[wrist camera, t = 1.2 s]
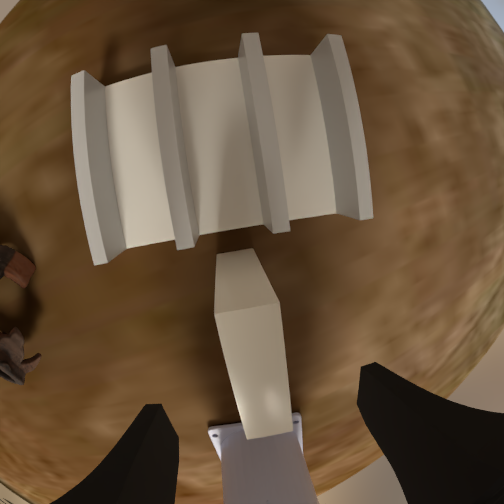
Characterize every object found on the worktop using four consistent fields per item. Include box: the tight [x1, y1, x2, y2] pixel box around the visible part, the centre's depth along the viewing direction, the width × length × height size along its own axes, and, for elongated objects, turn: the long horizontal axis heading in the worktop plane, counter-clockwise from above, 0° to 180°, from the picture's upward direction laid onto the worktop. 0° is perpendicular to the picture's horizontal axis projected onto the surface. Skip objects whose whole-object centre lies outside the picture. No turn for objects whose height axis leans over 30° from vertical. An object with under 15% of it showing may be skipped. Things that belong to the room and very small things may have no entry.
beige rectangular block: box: [214, 248, 293, 440], centre depth 14 cm, size 7×2×8 cm, turn 8°
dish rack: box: [71, 33, 373, 265], centre depth 13 cm, size 10×15×4 cm, turn 98°
